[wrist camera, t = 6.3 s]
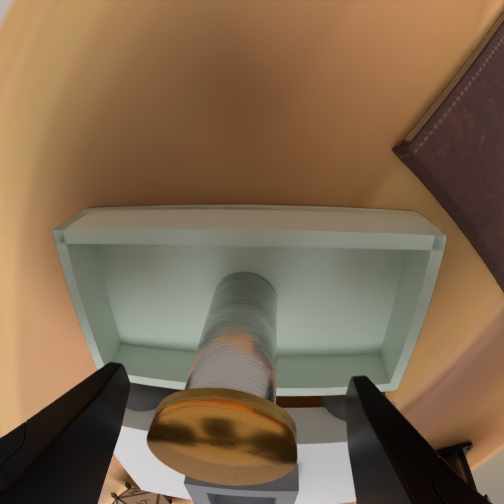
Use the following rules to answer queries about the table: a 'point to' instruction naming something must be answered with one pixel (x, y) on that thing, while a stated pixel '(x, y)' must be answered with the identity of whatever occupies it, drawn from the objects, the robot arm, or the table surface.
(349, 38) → the table surface
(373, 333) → the tray
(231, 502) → the white socket plate
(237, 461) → the pin
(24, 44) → the table surface
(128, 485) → the game die
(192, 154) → the table surface
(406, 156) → the notebook
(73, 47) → the table surface
